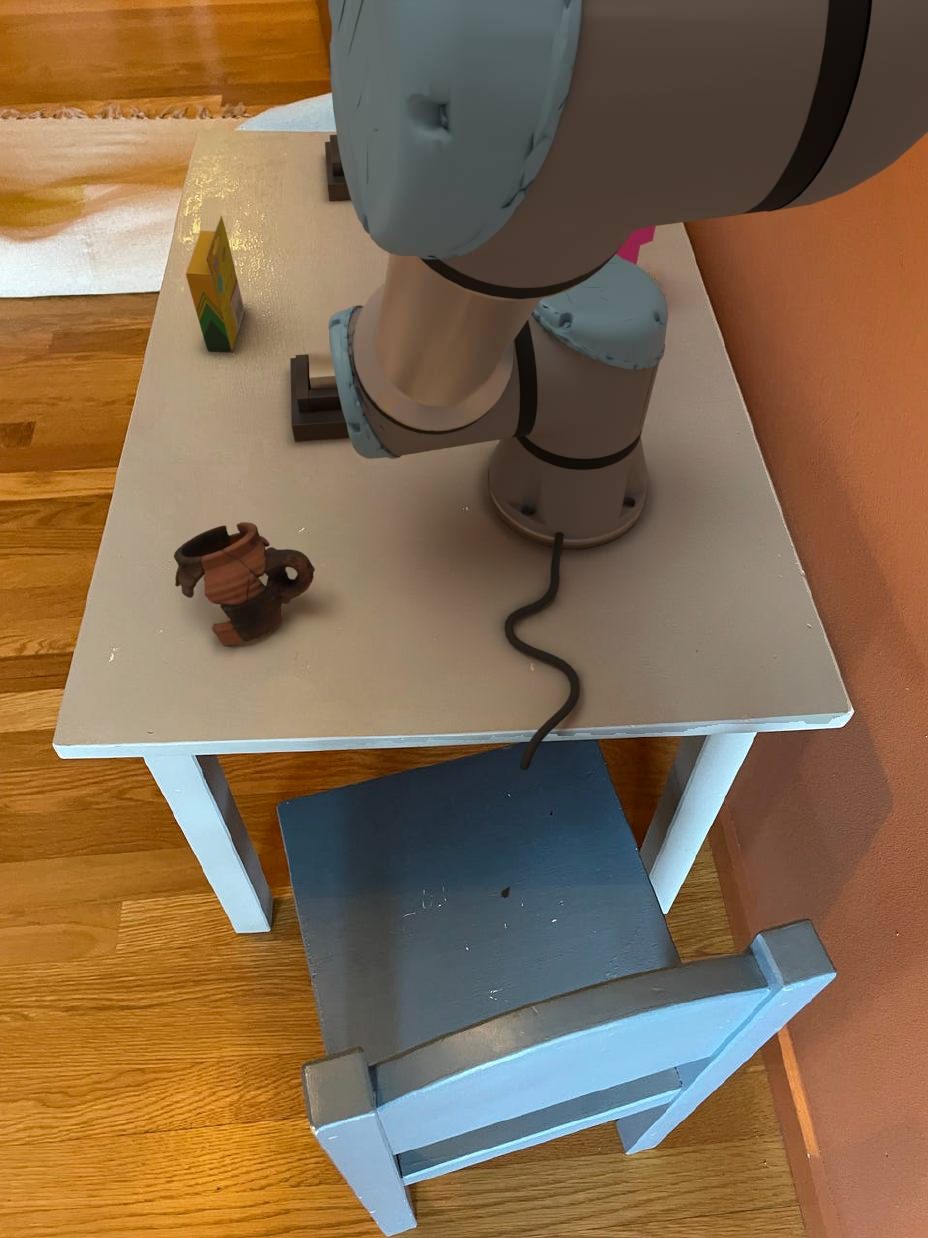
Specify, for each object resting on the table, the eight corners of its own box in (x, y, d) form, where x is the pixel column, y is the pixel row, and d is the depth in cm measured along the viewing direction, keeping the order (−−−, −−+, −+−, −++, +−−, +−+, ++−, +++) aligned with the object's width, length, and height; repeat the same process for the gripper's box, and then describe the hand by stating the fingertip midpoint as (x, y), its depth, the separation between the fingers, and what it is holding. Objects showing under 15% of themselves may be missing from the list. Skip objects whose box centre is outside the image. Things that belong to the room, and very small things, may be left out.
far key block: (392, 197, 115) (390, 166, 112) (329, 200, 114) (325, 170, 111) (386, 155, 121) (385, 124, 117) (326, 157, 120) (323, 127, 117)
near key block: (374, 435, 91) (371, 405, 88) (294, 441, 91) (288, 411, 87) (368, 369, 97) (365, 338, 94) (293, 374, 96) (287, 343, 93)
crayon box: (219, 308, 102) (196, 212, 93) (245, 309, 102) (225, 213, 92) (205, 351, 98) (179, 255, 88) (232, 353, 98) (209, 257, 88)
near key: (347, 388, 90) (346, 374, 89) (311, 391, 90) (309, 377, 88) (346, 364, 92) (344, 350, 91) (310, 366, 92) (308, 352, 90)
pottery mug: (188, 660, 77) (148, 575, 73) (218, 606, 85) (183, 527, 81) (321, 632, 75) (287, 543, 71) (339, 579, 83) (310, 498, 79)
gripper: (412, -135, 60) (420, 200, 80) (391, -200, 67) (403, 122, 87) (298, -131, 59) (334, 206, 79) (289, -197, 66) (324, 127, 86)
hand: (370, 162), depth 83 cm, fingers closed
